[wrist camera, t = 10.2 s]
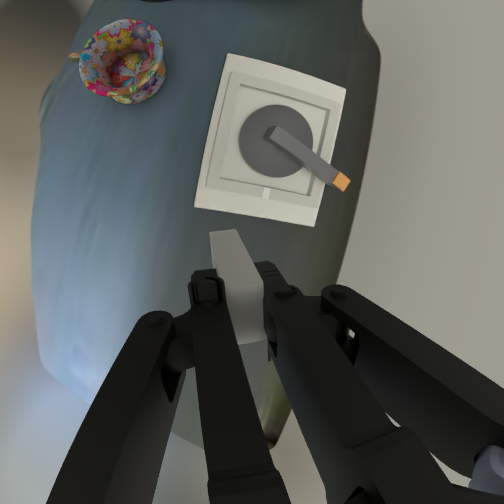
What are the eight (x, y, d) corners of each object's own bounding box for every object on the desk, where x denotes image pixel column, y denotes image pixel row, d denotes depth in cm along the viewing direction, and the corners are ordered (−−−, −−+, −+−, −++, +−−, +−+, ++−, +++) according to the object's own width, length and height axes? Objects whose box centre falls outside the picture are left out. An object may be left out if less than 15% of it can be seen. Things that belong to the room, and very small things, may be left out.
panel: (226, 55, 33) (229, 49, 31) (342, 90, 38) (351, 87, 35) (194, 205, 40) (194, 209, 38) (310, 224, 45) (318, 230, 42)
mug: (178, 52, 32) (175, 23, 22) (158, 112, 35) (146, 102, 25) (100, 42, 28) (76, 16, 19) (79, 101, 31) (47, 91, 21)
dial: (224, 151, 37) (229, 152, 32) (264, 92, 35) (276, 84, 30) (310, 207, 42) (326, 217, 37) (345, 153, 40) (365, 156, 35)
